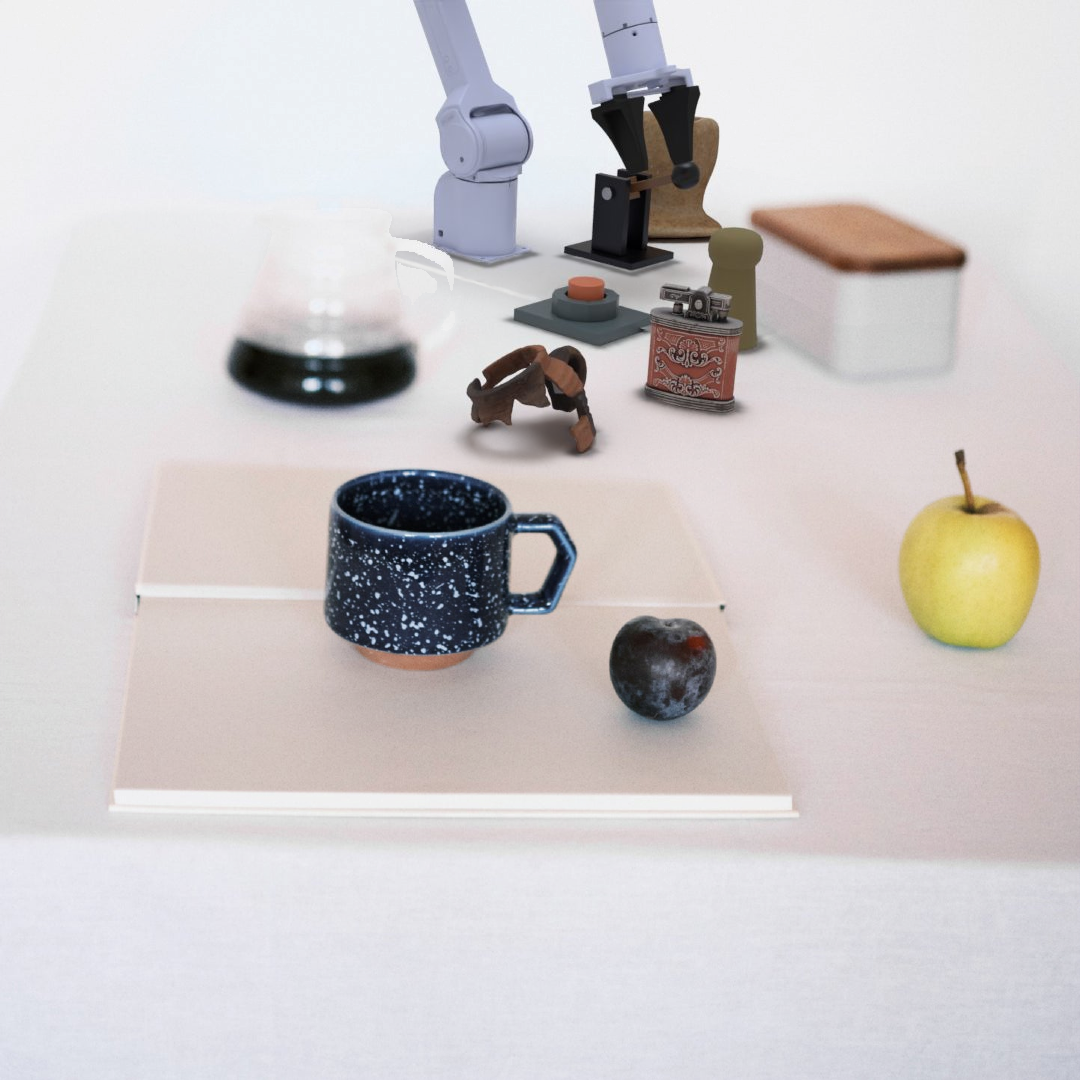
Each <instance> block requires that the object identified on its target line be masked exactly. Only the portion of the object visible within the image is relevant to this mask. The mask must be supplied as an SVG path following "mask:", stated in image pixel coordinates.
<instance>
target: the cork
mask: <svg viewBox="0 0 1080 1080" xmlns="http://www.w3.org/2000/svg"><path fill="white" fill-rule="evenodd" d="M707 245H708V246H707V252H708V253H707V254H708V258H709V259H710V261H711V263H712V265H711V270H710V273H709V277H708V282H707V286H708V287H710V288H711V289H712V290H713V292H714V293H718V294H724V295H729V296H731V297H732V298H731V307H730V309H729V313H728V316H727V317H729V318H734V319H737V320H740V321H742V322H743V329H742V333H741V334H740V336H739V346H738V352H745V351H746V352H747V351H749V350H753V349H755V348H756V347H757V346H758V345H757V344H758V333H757V332H758V331H757V285H756V284H757V281H756V280H757V279H756V278H757V277H756V276H757V275H756V272H757V271H756V267H757V265H758V264H759V263H760V262H761V260H762V257H763V253H764V240H763V238H762V236H761V235H760V233H758V232H757V231H755V230H752V229H749V228H745V227H740V226H739V227H738V226H732V227H731V226H729V227H722V228H721V229H719V230H717V231H715V232H714V233H713V234H712V236H710V238H709V241H708V244H707ZM716 310H717V315H718V309H716Z"/></svg>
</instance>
